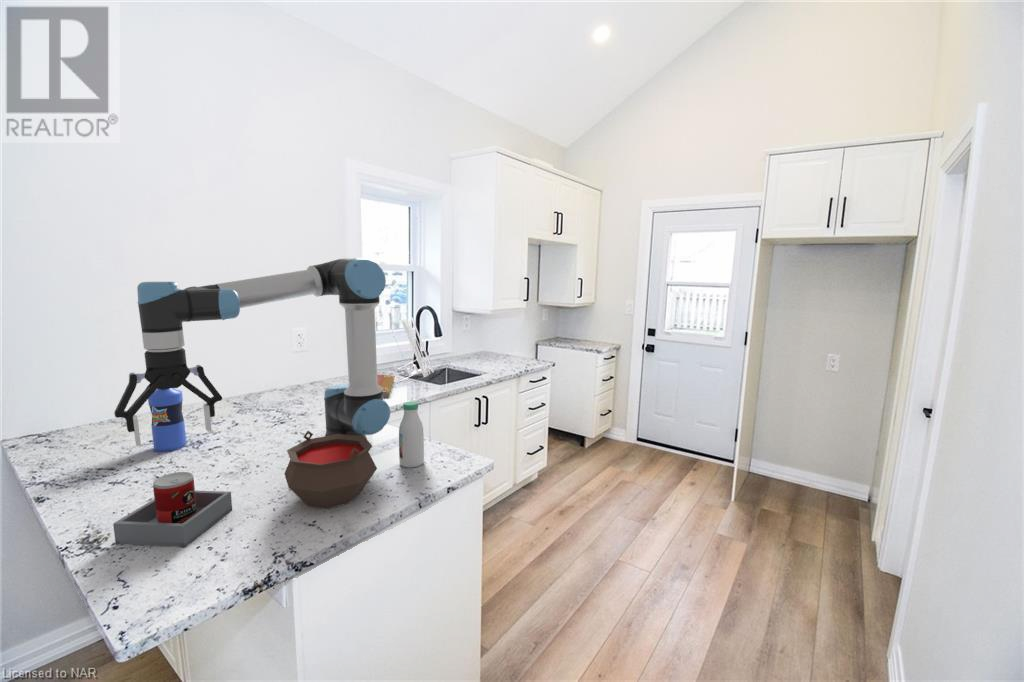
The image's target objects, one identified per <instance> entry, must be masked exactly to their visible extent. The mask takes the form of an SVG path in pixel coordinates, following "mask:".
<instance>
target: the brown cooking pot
mask: <svg viewBox="0 0 1024 682" xmlns="http://www.w3.org/2000/svg"><path fill="white" fill-rule="evenodd" d="M308 435H309V436H308ZM313 435H314V433H313V432H311V431H310V430H307V431H306V433H305V434H304V435H303V438H304V439H305V440H304V441H302V442H300V443H298V444H296V445H293V447H291V448H289V449H287V450H286V451H287V454H288V458H289V462H288V464H287V466H286V468H285V471H284V477H285V481H286V484H287V487H288V489H290V490H291V491H292V492H293V493H294V494H295V496H297V497H298V498H299V499H300V500H301V501H302V502H303V503H304V504H305V505H306V506H307V507H311V506H312V508H318V509H319V508H320V509H325V508H326V509H327V508H328V509H332V508H335V506H336V507H339V506H338V505H340V506H343V505H342V504H344V505H347V503H348V504H350V503H351V502H352V501H353V500H354V499H356V498H357V497H358V496H359V495H360V494H361V493H362V491H363V490H364V488H365V487H366V485H367V484H368V482H369V481H370V479H371V478H372V476H374V474H375V472H376V470H378V467H377V466H376V464H375V462H374V459H373V458H372V455H371V454H370V450H371V449H372V447H373V445H372V444H371V443H370V441H369V440H368V438H367V439H366V438H365V437H362V436H352V435H342V434H336V435H330V436H325V435H324V436H320V437H319V436H318V437H313V438H312V436H313ZM357 495H358V496H357ZM356 496H357V497H356ZM350 501H351V502H350ZM349 502H350V503H349ZM331 507H332V508H331ZM328 509H327V510H328Z"/></svg>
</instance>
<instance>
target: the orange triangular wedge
mask: <svg viewBox="0 0 1024 682" xmlns="http://www.w3.org/2000/svg"><path fill="white" fill-rule="evenodd" d="M395 377H396V375H391V374H377V383H378V385H379V386H380V387H381V388H382V389H383V399H385V398H387V399H388V398H389V397H390V394H391V391H392V388H393V384H394V381H395Z"/></svg>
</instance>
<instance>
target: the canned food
mask: <svg viewBox="0 0 1024 682" xmlns="http://www.w3.org/2000/svg"><path fill="white" fill-rule="evenodd" d="M195 487H196V486H195V479H194V474H193V473H191V472H188V471H177V472H172V473H168V474H164V475H162V476H160V477H157V478H156V479H154V480H153V483H152V488H153V489H152V490H153V497H154V498H153V499H155V508H156V516H157V523H178V524H182V523H184V522H185V521H187V520H188V519H189V518H191V517H192V516H194V515H195V514H196V513H197V509H196V498H195V490H196V488H195Z"/></svg>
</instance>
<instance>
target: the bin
mask: <svg viewBox="0 0 1024 682" xmlns="http://www.w3.org/2000/svg"><path fill="white" fill-rule="evenodd" d="M195 498H196V509H197V513H196V514H195V515H194V516H192V517H191V518H189V519H188V520H187V521H185V522H184V523H182V524H178V523H157V516H156V508H155V499H154V498H153V499H151V500H150V501H149V502H147V503H145V504H143V505H142V506H140V507H139V508H136V509H135V510H134V511H131V512H130V513H129V514H126V515H125V516H123V517H122V518H120V519H119V520H117V521H115V522H114V523H113V524H112V525H113V532H114V533H113V534H114V540H115V545H118V544H129V545H128V546H143V545H157V546H156V547H167V546H177V547H176V548H186V547H188V546H189V545H190V544H191V543H192V541H193V540H194V539H195V540H196V539H197V537H198V536H199V537H200V536H202V535H203V534H204V533H206V532H207V530H209V529H210V528H211V527H213V526H214V525H215V524H217V523H218V522H219V521H221V520H222V519H223V518H224V517H226V516H227V515H228V514H229V513H231V512H232V511H233V502H232V501H233V500H232V492H231V491H221V490H219V491H218V490H196V489H195ZM230 511H231V512H230ZM202 533H203V534H202ZM199 537H198V538H199ZM195 540H194V541H195ZM194 541H193V542H194ZM190 542H191V543H190ZM189 543H190V544H189ZM130 544H131V545H130ZM188 544H189V545H188ZM158 545H159V546H158ZM187 545H188V546H187ZM178 546H180V547H178Z"/></svg>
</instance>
